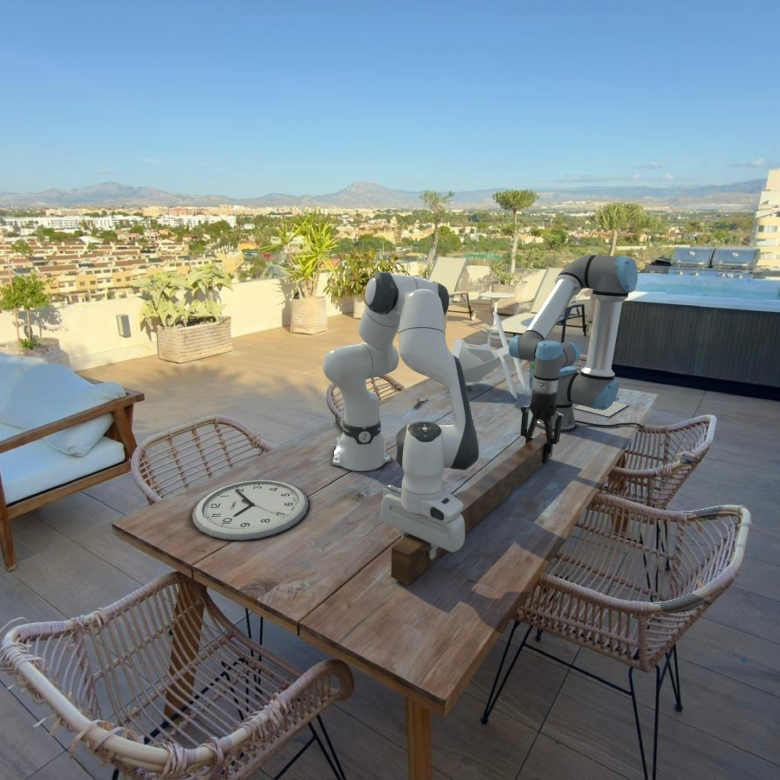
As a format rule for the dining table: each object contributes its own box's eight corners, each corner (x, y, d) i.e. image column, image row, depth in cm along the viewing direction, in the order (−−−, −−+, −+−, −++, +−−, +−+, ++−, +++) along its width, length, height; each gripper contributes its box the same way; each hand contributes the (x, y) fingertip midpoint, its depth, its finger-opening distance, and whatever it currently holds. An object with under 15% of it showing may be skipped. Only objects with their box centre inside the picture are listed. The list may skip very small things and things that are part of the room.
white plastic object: (461, 429, 252) (437, 405, 227) (444, 352, 274) (420, 323, 250) (535, 404, 240) (518, 377, 215) (510, 326, 262) (492, 293, 237)
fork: (411, 408, 219) (411, 404, 219) (422, 397, 234) (422, 393, 233) (417, 409, 219) (417, 404, 218) (427, 398, 233) (427, 394, 232)
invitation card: (608, 416, 214) (573, 407, 224) (608, 416, 214) (573, 408, 224) (628, 404, 229) (594, 396, 238) (628, 405, 229) (594, 397, 238)
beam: (538, 452, 176) (541, 432, 174) (551, 456, 174) (554, 435, 171) (390, 576, 113) (391, 547, 110) (408, 585, 110) (409, 555, 108)
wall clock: (304, 532, 127) (176, 536, 124) (304, 538, 127) (177, 542, 125) (311, 475, 155) (207, 478, 153) (311, 480, 156) (208, 483, 153)
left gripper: (374, 487, 115) (374, 541, 120) (455, 519, 104) (451, 577, 108) (391, 477, 120) (390, 529, 124) (470, 506, 109) (466, 562, 113)
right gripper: (513, 388, 164) (506, 456, 171) (568, 399, 154) (559, 471, 161) (522, 383, 170) (516, 449, 177) (577, 393, 160) (568, 463, 167)
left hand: (419, 552), depth 116 cm, fingers closed on beam, 4 cm apart
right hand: (537, 459), depth 169 cm, fingers closed on beam, 5 cm apart
